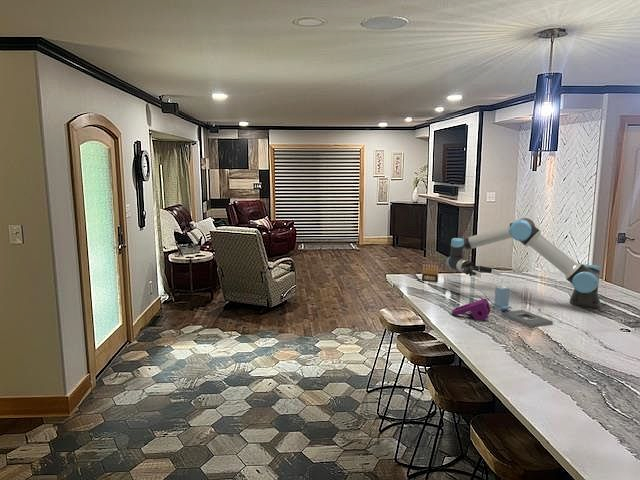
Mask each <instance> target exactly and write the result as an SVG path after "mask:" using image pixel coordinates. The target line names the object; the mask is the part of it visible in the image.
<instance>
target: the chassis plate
mask: <svg viewBox="0 0 640 480" xmlns="http://www.w3.org/2000/svg"><path fill="white" fill-rule="evenodd" d="M500 312H501V311H500ZM501 316H502V317H504V318H507V319H509V320H512V321H514V322H517V323H519V324H522V325H524V326H526V327H529V328H536V327H543V326H550V325H553V324H554V322H553V320H551V319H547V318H545V317H542V316H540V315H537V314H535V313H533V312H529V311H526V310H524V309H519V310H509V311H504V312H503V311H502V312H501ZM526 318H527V319H526Z"/></svg>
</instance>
